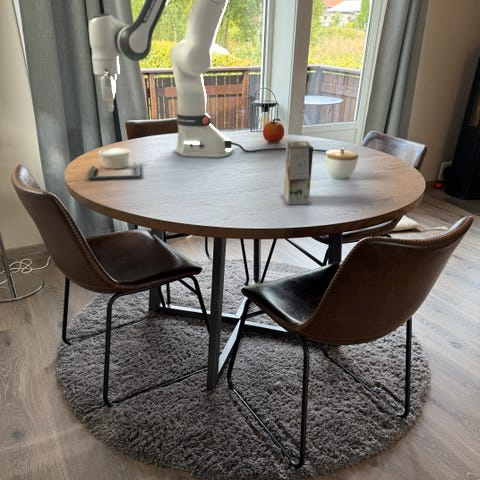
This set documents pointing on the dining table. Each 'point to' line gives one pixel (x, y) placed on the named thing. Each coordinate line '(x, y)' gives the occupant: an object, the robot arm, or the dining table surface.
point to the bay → (92, 178)
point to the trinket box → (341, 163)
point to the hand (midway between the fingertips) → (111, 111)
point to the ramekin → (115, 158)
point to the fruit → (273, 131)
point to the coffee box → (298, 172)
